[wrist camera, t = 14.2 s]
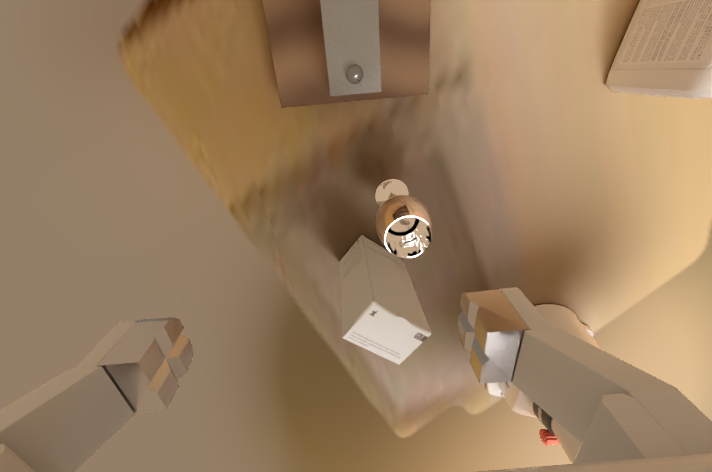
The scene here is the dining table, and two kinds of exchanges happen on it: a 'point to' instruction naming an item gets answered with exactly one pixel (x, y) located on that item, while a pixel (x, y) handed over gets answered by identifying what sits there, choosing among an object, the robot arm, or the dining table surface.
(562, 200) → the dining table surface
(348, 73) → the plate
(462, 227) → the dining table surface
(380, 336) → the skincare box
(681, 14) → the photo printer
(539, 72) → the dining table surface
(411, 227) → the wineglass
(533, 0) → the dining table surface
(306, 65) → the stand
